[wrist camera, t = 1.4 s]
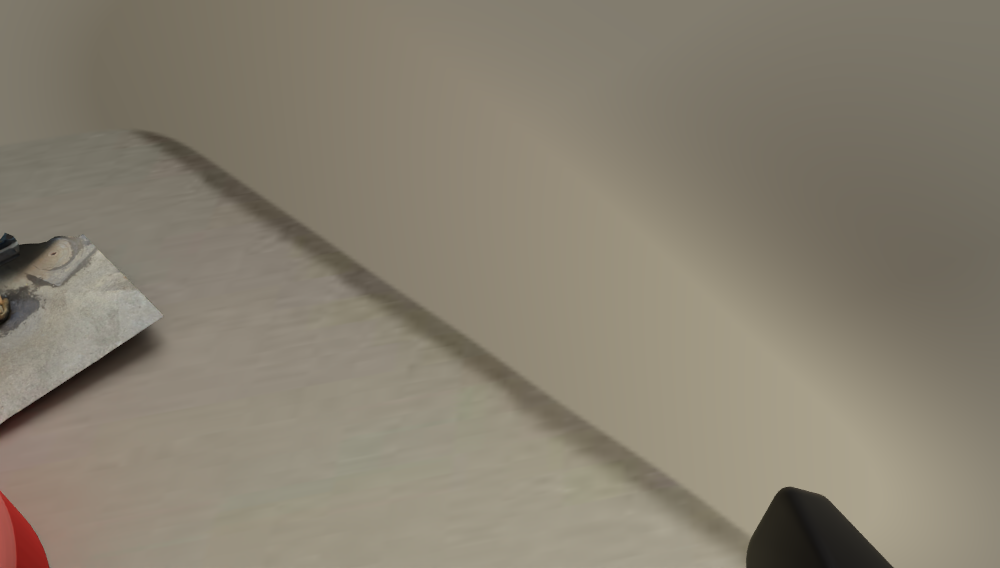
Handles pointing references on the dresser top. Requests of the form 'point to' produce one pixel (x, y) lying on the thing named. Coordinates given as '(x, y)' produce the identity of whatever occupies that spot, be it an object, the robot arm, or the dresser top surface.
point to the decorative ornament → (18, 540)
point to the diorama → (60, 315)
